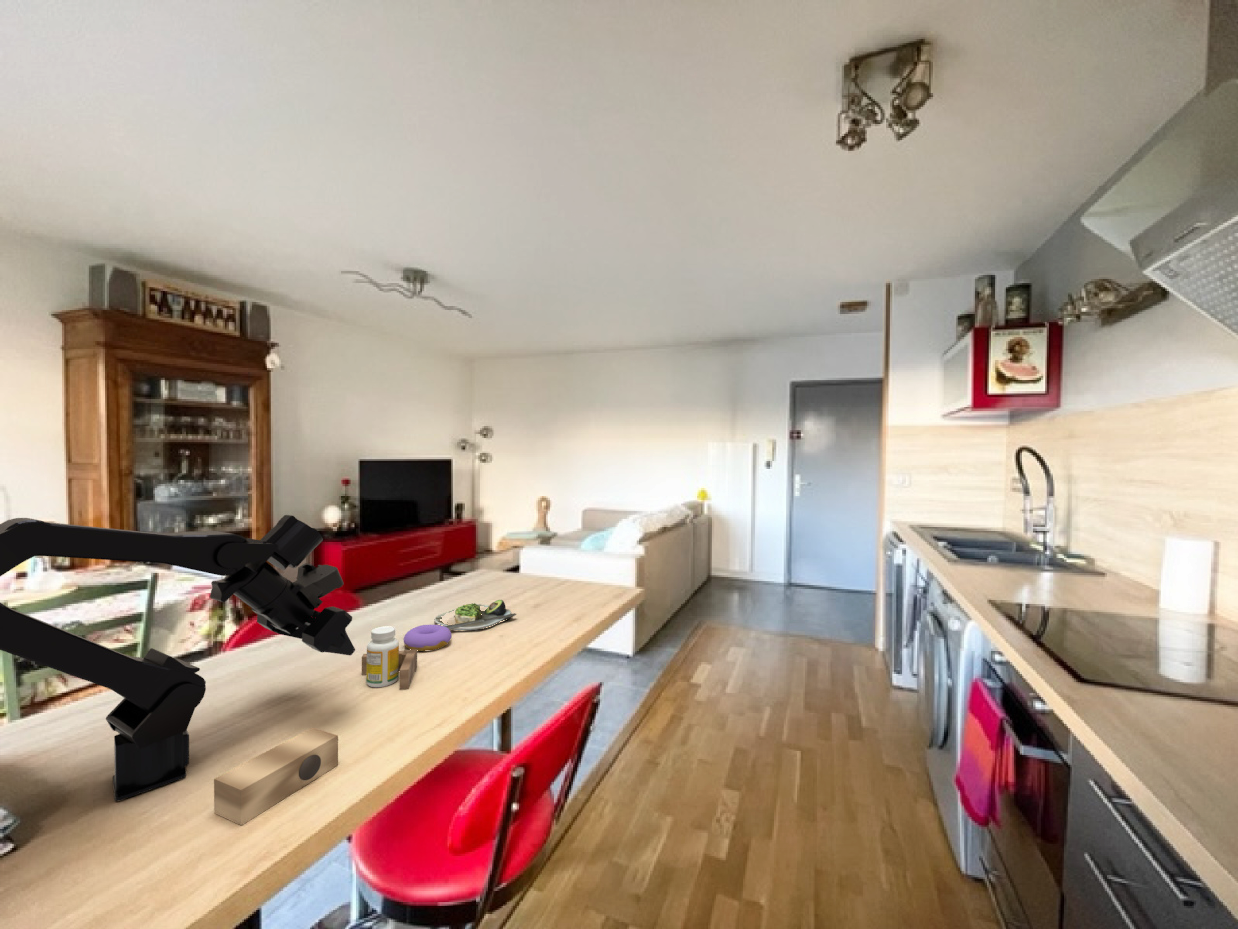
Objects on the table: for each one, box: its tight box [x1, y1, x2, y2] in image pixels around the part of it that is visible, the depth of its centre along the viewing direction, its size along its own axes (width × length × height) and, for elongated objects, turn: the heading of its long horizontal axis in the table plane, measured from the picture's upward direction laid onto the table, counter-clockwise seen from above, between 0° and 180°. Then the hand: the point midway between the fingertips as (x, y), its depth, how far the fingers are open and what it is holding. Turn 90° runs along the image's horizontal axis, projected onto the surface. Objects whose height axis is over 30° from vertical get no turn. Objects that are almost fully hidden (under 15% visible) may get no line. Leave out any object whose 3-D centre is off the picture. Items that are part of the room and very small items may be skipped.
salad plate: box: [433, 599, 517, 631], centre depth 125 cm, size 19×18×5 cm
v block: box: [361, 649, 418, 691], centre depth 95 cm, size 8×13×4 cm, turn 59°
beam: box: [213, 727, 339, 826], centre depth 62 cm, size 12×5×4 cm, turn 157°
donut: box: [402, 624, 452, 652], centre depth 110 cm, size 10×9×5 cm
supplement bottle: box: [365, 625, 400, 688], centre depth 92 cm, size 5×5×10 cm
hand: (337, 646), depth 85 cm, fingers open, 9 cm apart
